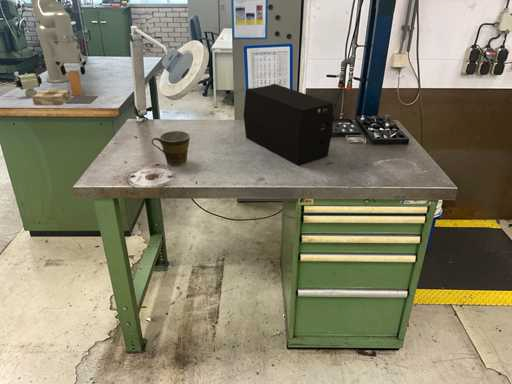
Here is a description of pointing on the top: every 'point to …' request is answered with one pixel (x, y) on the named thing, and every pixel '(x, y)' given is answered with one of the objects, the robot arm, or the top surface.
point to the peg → (75, 83)
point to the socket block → (51, 97)
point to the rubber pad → (82, 99)
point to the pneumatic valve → (28, 83)
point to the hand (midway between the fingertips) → (73, 74)
